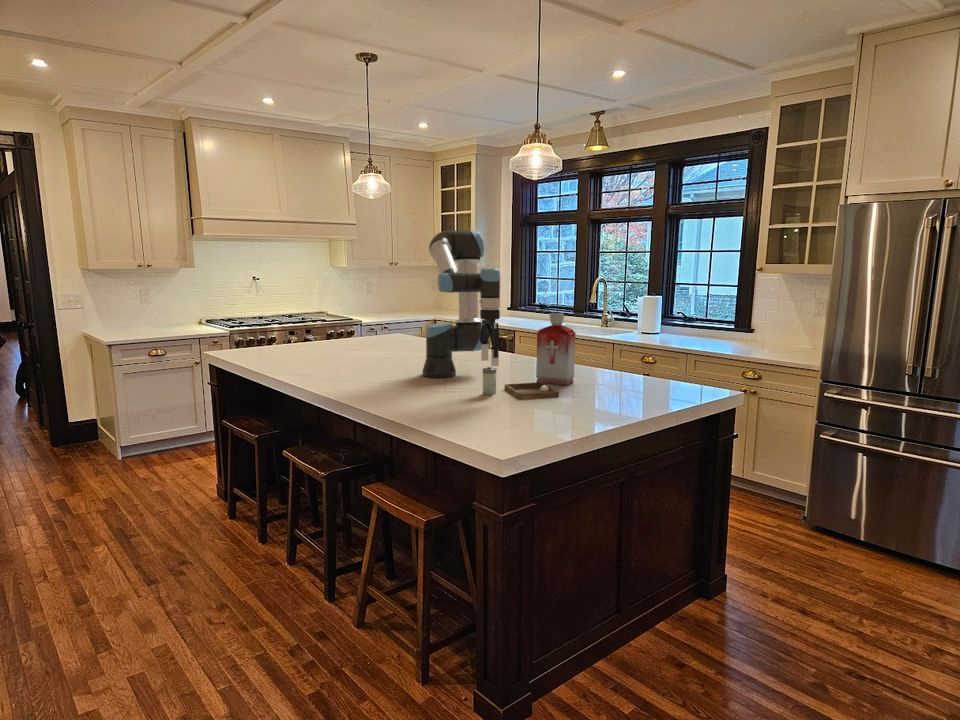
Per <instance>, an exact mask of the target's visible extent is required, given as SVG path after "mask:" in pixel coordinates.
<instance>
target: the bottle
mask: <svg viewBox="0 0 960 720" xmlns="http://www.w3.org/2000/svg"><path fill="white" fill-rule="evenodd" d="M564 319H565V315H564V313H560V312H552V313H550V314H549V321H550V324H551V325H548V326H546V327H543V328H540V329H539V330H538V331H536V332H537V333H536V334H537V335H536V336H537V337H536V366H535V367H536V369H535V371H536V373H535V376H536V382H542V383H544V384H546V385H549V384H550V385H555V386H556V385H557V386H565V387H566V386H569V385H571V384H574V382H575V381H574V377H575V359H576V332H575V331H574V329H572V328H570V327H568V326H565V325H562V324H563V323H564ZM536 382H535V383H536Z"/></svg>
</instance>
